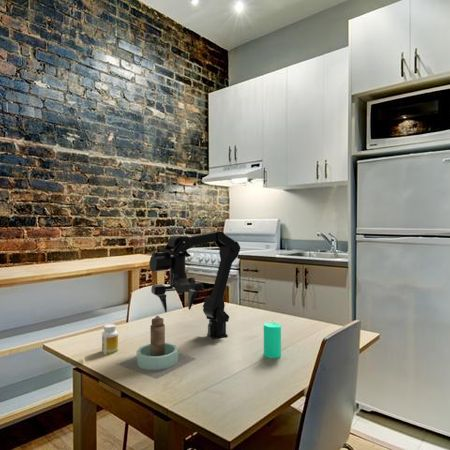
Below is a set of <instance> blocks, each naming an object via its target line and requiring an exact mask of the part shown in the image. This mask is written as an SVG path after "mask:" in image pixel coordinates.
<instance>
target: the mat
mask: <svg viewBox="0 0 450 450" xmlns="http://www.w3.org/2000/svg"><path fill="white" fill-rule="evenodd" d="M196 359H197V358H196V357H192V356H188V355H185V354H181V353H179V352H178V361H177V363H176V364H175V365H173V366H171V367H169V368H165V369H160V370H146V369H143V368H141V367H139V366H138V365H137V355H136V356H134V357H132V358H129V359H126V360H124V361H122V362H120V363H117V366H121V367H124V368H127V369H129V370H132V371H135V372H136V373H137V372H138V373H140V374H144V375H146V376H149V377H151V378H154V379H160V378H161V377H163V376H165V375H167V374H169V373H171V372H173V371H175V370H177V369H179V368H181V367H183V366H184V365H187V364H189V363H191V362H193V361H195V360H196Z"/></svg>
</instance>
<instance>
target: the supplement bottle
mask: <svg viewBox="0 0 450 450" xmlns="http://www.w3.org/2000/svg"><path fill="white" fill-rule="evenodd" d="M116 328H117V325H116V324H112V323H110V324H109V323H108V324H105V325H104V326H103V330H104V331H103V332H102V334H101V353H102V354H103V355H113V354H114V355H115V353H118V352H119V332H118V331H117V330H116Z"/></svg>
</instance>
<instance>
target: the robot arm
mask: <svg viewBox="0 0 450 450" xmlns="http://www.w3.org/2000/svg"><path fill="white" fill-rule="evenodd" d="M208 243H214V244H215V246H216V247H217V248H218V249H219V252H218V253H219V258H220V262H219V265H218V268H217V269H218V270H217V272H216V276H215V280H214V283H213V284H214V285H213V288H212V291H211V293H210V295H209V297H208V296H207V297H205V298H204V302H203V305H202V306H201V307H202V311H203V313H204V315H205V317H206V319H207V320H208V324H207V335H208V337H211V339H218V338H219V339H220V338H225V337H228V336H229V335H228V334H227V323H228V322H229V321H230V315H229V314H227V312H226V311H225V306H226V304H225V299H224V295H225V292H226V289H227V285H228V280H229V278H230V277H229V276H230V273H231V269H232V265H233V263H234V262H235V261H236V260H237V258H238V256H239V254H240V252H241V246H240V244H239V242H237V241H236V240H234V239H233V238H231V237H230V236H228V235H226V233H224V232H223V231H221V230H212V231H210V232H205V233H198V234H194V235H192V234H191V235H171V236H170V237H169V238H168V240H167V244H166V245H165V247H164V248H163V249H162V251H161V252H155V251H154V252H152V253H151V257H149V258H150V259H149V263H148V264H149V269H150V271H151V272H152V273H153V272H164V271H168V270H169V283H168V286H167V285H164V284H161V283H160V284H159V283H158V284H152V286H151V287H150V289H151V290H150V291H151V294H153V295H155V296H156V297H158V298H159V300H160V302H161V305H162V308H163V310H164V313H167V309H168V305H167V294H166V292H172V291H173V292H175V291H176V293H177V294H178V293H179V294H181V293H187V307H188V310H189V311H190V310H191V308H192V306H193V303H194V300H195V298H196V296H197V295H198V294H200V293H201V292H203V291H204V284H203V283H202V282H200V281H196V278H195V277H189V278H188V277H187V272H186V257H188V258H190V257H191V254H190V253H189V252H188V251H187V250H189V249H191V248H192V247H194V246H199V245H203V244H208Z"/></svg>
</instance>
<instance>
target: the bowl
mask: <svg viewBox="0 0 450 450" xmlns="http://www.w3.org/2000/svg"><path fill="white" fill-rule="evenodd" d="M178 353H179V347H178V346H177V345H175V344H173V343H169V342H165V355H163V356H151V343H147V344H145V345H142V346H140V347H139V348H138V349H137V350H136V356H137V365H138V366H139V367H141V368H143V369H146V370H160V369H165V368H169V367H171V366H173V365H175V364H176V363H177V361H178Z"/></svg>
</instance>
